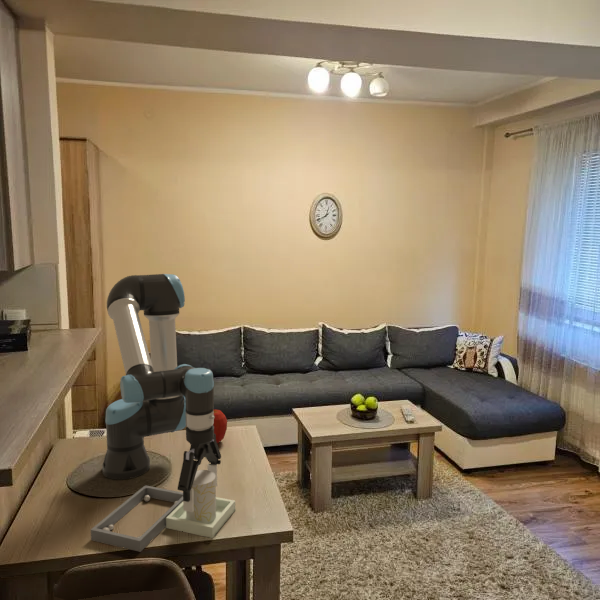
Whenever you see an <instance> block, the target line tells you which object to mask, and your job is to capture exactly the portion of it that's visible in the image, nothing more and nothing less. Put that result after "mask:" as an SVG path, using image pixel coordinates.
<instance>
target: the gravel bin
mask: <svg viewBox="0 0 600 600" xmlns="http://www.w3.org/2000/svg"><path fill="white" fill-rule="evenodd" d="M151 499H156V500H161V501H166V502H171V503H173V505H171V507H170V508H169V509H167V511H165V513H164V514H162V515H161V516H160V517H159V518H158V519H157V520H156V521H155V522H153V524H152V525H151V526H150V527H149V528H148V529H147V530H146V531H145V532H143V534H142V535H139V536H137V537H136V536H133V535H127V534H124V533H118V532H114V531H112V530H114V528H115V527H114V525H115V524H116V523H117V522H118V521H120V520H121V519H122V518H123V517H125V515H127V514H128V513H129V512H131V510H132V509H134V508H135V507H136V506H137V505H138V504H140V503H141V502H142V501H143V500H144V501H145V502H149V501H151ZM182 502H183V491H177V490H173V489H172V490H171V489H167V488H162V487H157V486H156V487H155V486H151V485H150V486H149V485H145V484H144V486H143V487H141V488H140V489H138V491H136V492H135V493H134V494H132V495H131V496H130V497H129V498H127V500H125V501H123V502H122V503H121V504H120V505H119V506H118V507H117V508H115V509H113V511H112V512H110V513H109V514H107V516H105V517H104V518H103V519H102V520H100V522H98V523H97V524H95V525H94V526H93V527H92V528H90V540H91V541H92V542H93V541H94V542H97V543H102V544H106V545H108V546H109V545H110V546H113V547H118V548H122V547H124V549H126V548H128V549H127V550H130V551H135V552H140V553H141V552H142V551H144V549H145V548H146V547H147V546H148V545H149V544H150V543H151V542H152V541H153V540H154V539H155V538H156V537H157V536H158V535H159V534H160V533H162V531H163V530H164V529H165V528H166V517H167V516H168V515H169V514H170V513H171V512H172V511H174V510H175V509H176V508H177V507H178V506H179V505H180V504H181V503H182ZM154 537H155V538H154ZM152 539H153V540H152ZM151 540H152V541H151ZM150 541H151V542H150Z"/></svg>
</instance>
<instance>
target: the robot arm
mask: <svg viewBox="0 0 600 600" xmlns="http://www.w3.org/2000/svg"><path fill="white" fill-rule="evenodd" d="M185 300H186V297H185V291H184V287H183V284H182V281H181V280H180V278H179V277H178V276H177V275H176V274H172V273H171V274H170V273H156V274H139V275H137V274H134V275H127V276H126V277H123V278H121V279H120V280H118V281H117V282H116V283H115V284H114V285H113V286H112V288H111V289H110V290H109V293H108V295H107V300H106V309H107V314H108V316H109V318H110V319H111V320H112V321H113V324H114V325H113V326H114V330H115V334H116V338H117V342H118V347H119V352H120V356H121V360H122V365H123V367H124V368H123V369H124V372H125V375H122V376H121V378H120V381H119V382H120V383H119V386H120V387H119V388H120V394H121V395H120V396H121V399H118V400H115V401H114V402H112V403H110V404H109V405H108V406H107V408H106V409H105V420H104V421H105V427H106V428H105V429H106V430H105V431H106V432H105V433H106V452H105V455H104V459H103V463H102V465H101V467H102V475H103V476H104V477H106V478H108V479H112V480H129V479H133V478H137V477H140V476H141V475H143V474H146V473H147V472H148V471H149V469H150V467H151V460H150V456H149V455H148V452H147V449H146V446H145V441H144V438H145V437H146V438H147V437H151V436H157V435H162V434H163V435H164V434H168V433H174V432H177V431H181V430H184V429H185V439H186V441H187V442H188V443H189V445H190V448H189V450H188V451H186V450H185V451H183V458H182V459H183V461H182V464H181V469H180V474H179V480H178V484H177V490H178V491H179V492H182V493H183V510H184V511H189V512H193V511H194V489H193V488H192V485H193V482H194V478H195V475H196V472H197V470H198V468H199V465H201V464H202V461H203V459H204V458H205V459H206V460H207V462H208V464H207V465H206V466H207V470H208V471H211V472H213V473H214V474H215V475H216V488H217V487H218V465H221V462H222V461H221V458H222V454H221V451H220V448H219V445H218V444H217V442H216V434H214V426H213V424H214V418H215V417H214V409H215V408H214V405H215V404H214V400H215V398H214V395H215V394H214V387H215V382H214V374H213V371H212V370H211V369H210V368H205V367H194V366H192V365H190V364H186V363H183V364H179V365H178V357H177V356H178V352H177V333H176V330H177V329H176V318H177V317H178V316H179V315H180V309H182V308H184V306H185V302H186V301H185ZM140 311H143V316H144V317H145V318H146V319H147V321H148V325H149V326H148V327H149V328H148V329H149V348H148V345H147V341H146V338H145V334H144V330H143V326H142V323H141V320H140V317H139V313H140ZM149 349H150V352H149Z"/></svg>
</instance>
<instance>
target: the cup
mask: <svg viewBox="0 0 600 600" xmlns="http://www.w3.org/2000/svg"><path fill="white" fill-rule="evenodd" d="M192 488H193V489H194V511H193V512H189V511H186V519H187V520H190V521H195V522H200V523H204V524H209V523H211V522H213V521H214V520H215V518H216V497H217V489H216V488H217V487H216V475H215V474H214V473H213V472H211V471H208V469H199V470H198V469H197V472H196V475H195V478H194V482H193V485H192Z"/></svg>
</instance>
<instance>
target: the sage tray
mask: <svg viewBox="0 0 600 600" xmlns="http://www.w3.org/2000/svg"><path fill="white" fill-rule="evenodd" d="M235 511H236V500H234V499H229V498H224V497H217V496H216V518H215V520H214V521H213V522H211V523H209V524H204V523H200V522H195V521H190V520H187V519H186V511H184V510H183V502H182V503H181V504H180V505H179V506H178V507H177V508H176V509H175V510H174V511H172V512H171V513H170V514H169V515H168V516H167V517H166V527H165V528H166V529H170V530H174V531H179V532H182V531H183V532H184V533H188V534H192V535H196V536H201V537H205V538H210V539H214V537H216V535H217V533H218V532H219V531H220V530H221V528H222V527H223V526H224V525H225V524H226V522H227V521H228V520H230V517H231V516H232V515H233V514H234V513H235Z"/></svg>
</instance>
